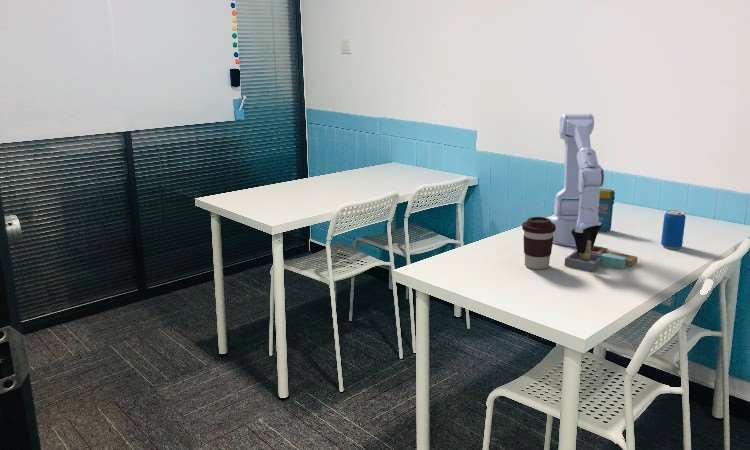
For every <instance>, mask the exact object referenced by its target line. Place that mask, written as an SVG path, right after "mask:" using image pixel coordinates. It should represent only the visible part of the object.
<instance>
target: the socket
mask: <svg viewBox="0 0 750 450" xmlns="http://www.w3.org/2000/svg"><path fill="white" fill-rule="evenodd" d="M608 250H609V248H608V247H604V246H603V247H602V246H596V245H594V246H593V247H591V251H590V253H592V254H597V255H602V254H603V253H606V254H608Z"/></svg>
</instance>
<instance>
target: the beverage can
mask: <svg viewBox="0 0 750 450" xmlns="http://www.w3.org/2000/svg"><path fill="white" fill-rule="evenodd" d="M685 214H686V212H684V211H682V210H675V209H671V210H666V211H665V213H664V215H663V222H662V233H661V239H660V241H661V242H660V245H661V246H662V247H663V248H665V249H668V250H678V249H680V248H682V247H683V243H684V235H685V234H684V233H685V227H686V226H685V225H686V215H685Z"/></svg>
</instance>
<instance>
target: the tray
mask: <svg viewBox="0 0 750 450" xmlns="http://www.w3.org/2000/svg"><path fill="white" fill-rule="evenodd" d="M600 256H601V255H597V254H592V253H590V262H586V261H581V260H580V253H577V250H575V251H573V252H571V254H569V255H567V256H566V257H565V258H564V267H570V268H574V269H579V270H584V271H587V272H588V271H590V272H595V271H596V270H597V269H599V267H601V266H602V265H601V262H602V257H600Z"/></svg>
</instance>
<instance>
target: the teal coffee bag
mask: <svg viewBox="0 0 750 450" xmlns="http://www.w3.org/2000/svg"><path fill="white" fill-rule="evenodd" d="M615 194H616V192H615V190H614V189H608V188H607V189H606V188H600V197H599V209H598V216H599V220H598V222H601V224H602V227H601V229H600V230H599V232H602V233H603V232H604V233H607V232H610V231H612V230H611V229H612V219H613V212H614V211H613V210H614V205H615V204H614V203H615V199H616V195H615Z"/></svg>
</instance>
